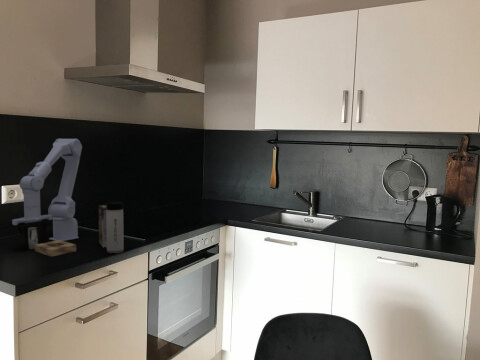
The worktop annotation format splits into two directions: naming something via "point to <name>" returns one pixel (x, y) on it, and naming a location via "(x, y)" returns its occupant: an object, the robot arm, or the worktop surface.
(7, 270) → the worktop surface
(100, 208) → the coffee box
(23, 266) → the worktop surface
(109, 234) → the travel mug
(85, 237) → the worktop surface
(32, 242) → the metal peg
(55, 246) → the socket plate
